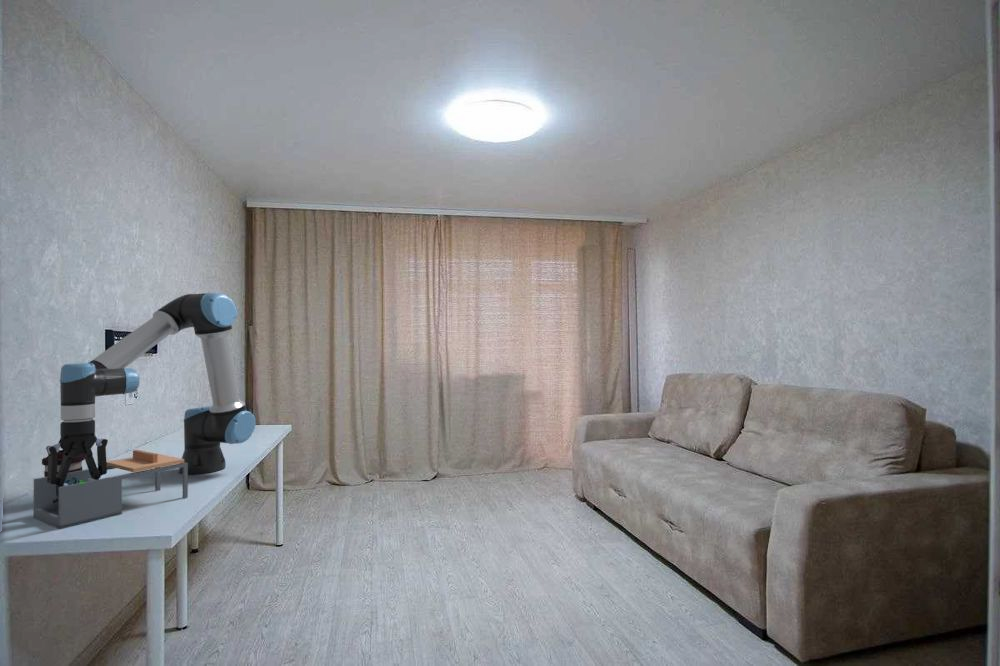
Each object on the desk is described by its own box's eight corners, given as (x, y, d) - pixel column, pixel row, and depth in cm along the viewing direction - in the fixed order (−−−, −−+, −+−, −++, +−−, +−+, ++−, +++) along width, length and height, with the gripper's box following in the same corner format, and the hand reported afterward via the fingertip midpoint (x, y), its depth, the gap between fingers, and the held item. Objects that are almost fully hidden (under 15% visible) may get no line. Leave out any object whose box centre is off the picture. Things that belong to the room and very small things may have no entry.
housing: (158, 489, 176) (158, 456, 176) (187, 497, 167) (187, 462, 167) (33, 517, 149) (33, 479, 149) (60, 529, 140) (60, 487, 140)
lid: (155, 456, 175) (155, 445, 175) (184, 462, 166) (184, 450, 166) (105, 465, 163) (105, 453, 163) (133, 472, 154) (133, 459, 154)
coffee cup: (42, 501, 164) (42, 450, 164) (84, 495, 170) (84, 446, 170) (40, 509, 156) (40, 456, 156) (84, 502, 162) (84, 451, 162)
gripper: (110, 414, 160) (110, 494, 160) (29, 423, 144) (29, 512, 144) (122, 416, 156) (122, 498, 156) (41, 425, 140) (41, 516, 140)
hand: (77, 504), depth 150 cm, fingers closed on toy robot, 6 cm apart
